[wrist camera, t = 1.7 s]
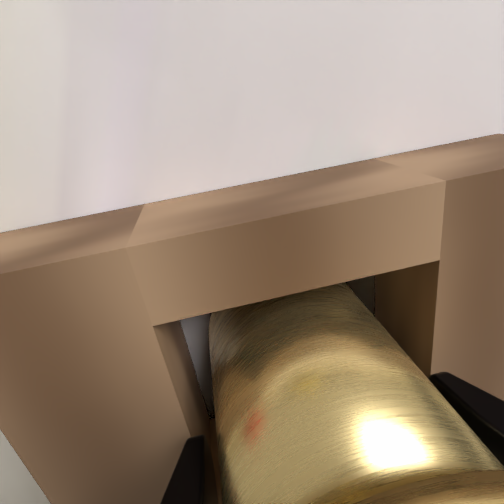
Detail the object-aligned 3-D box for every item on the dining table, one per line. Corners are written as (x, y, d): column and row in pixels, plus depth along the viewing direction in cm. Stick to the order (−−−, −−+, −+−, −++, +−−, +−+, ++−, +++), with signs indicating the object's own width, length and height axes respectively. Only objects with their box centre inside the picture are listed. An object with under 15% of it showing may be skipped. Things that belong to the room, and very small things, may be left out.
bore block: (497, 133, 10) (613, 145, 7) (463, 386, 14) (528, 454, 11) (-5, 233, 9) (-93, 293, 6) (119, 478, 13) (101, 577, 10)
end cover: (367, 225, 10) (736, 483, 3) (370, 373, 13) (586, 698, 6) (171, 268, 10) (126, 674, 3) (213, 413, 12) (245, 820, 5)
